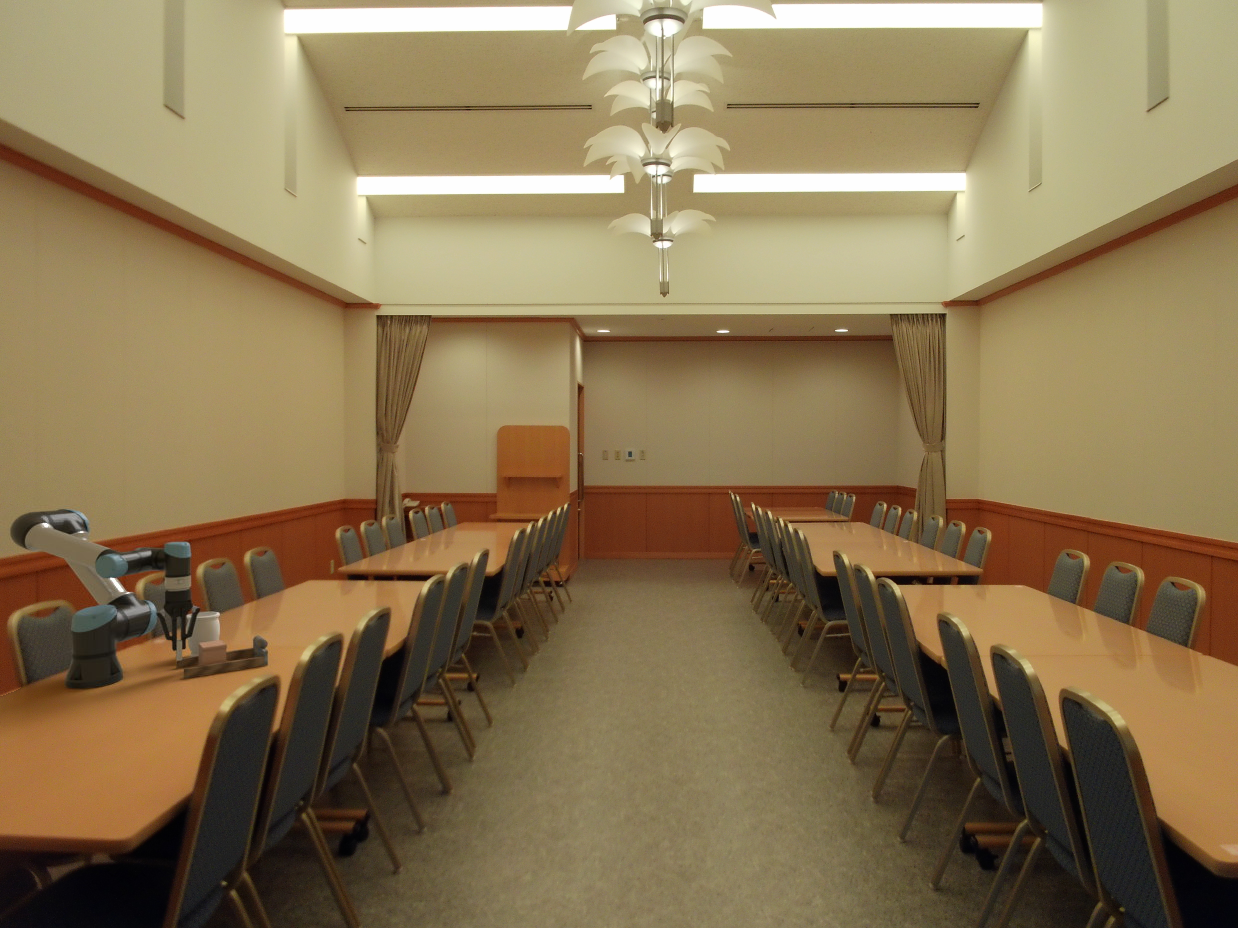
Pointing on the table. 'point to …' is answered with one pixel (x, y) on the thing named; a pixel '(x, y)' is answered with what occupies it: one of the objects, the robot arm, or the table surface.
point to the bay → (256, 651)
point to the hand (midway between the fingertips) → (179, 659)
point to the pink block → (212, 652)
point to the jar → (203, 630)
